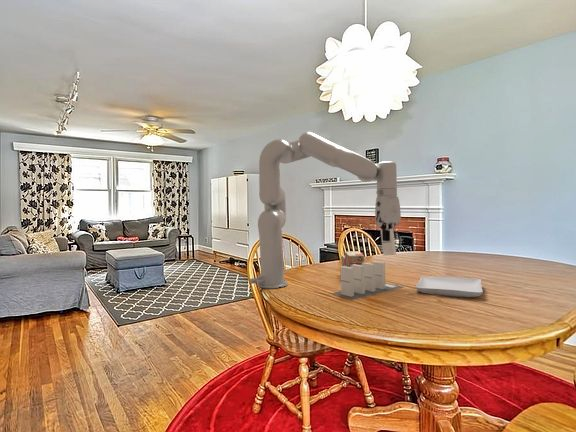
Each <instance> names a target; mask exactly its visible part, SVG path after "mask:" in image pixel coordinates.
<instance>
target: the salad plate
mask: <svg viewBox="0 0 576 432" xmlns="http://www.w3.org/2000/svg"><path fill="white" fill-rule="evenodd" d="M415 289H416V290H417V291H419V292H420V293H423V294H428V295H429V294H430V295H439V296H447V297H456V298H457V297H458V298H459V297H460V298H477V297H479V296H481V295H482V294H483V293H484V291H483V286H482V279H481V278H470V277H468V278H467V277H455V276H454V277H453V276H452V277H451V276H449V277H448V276H432V275H431V276H429V275H428V276H427V275H422V276H421V277H420V279H419V280H418V282H417V284H416V286H415Z"/></svg>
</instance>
